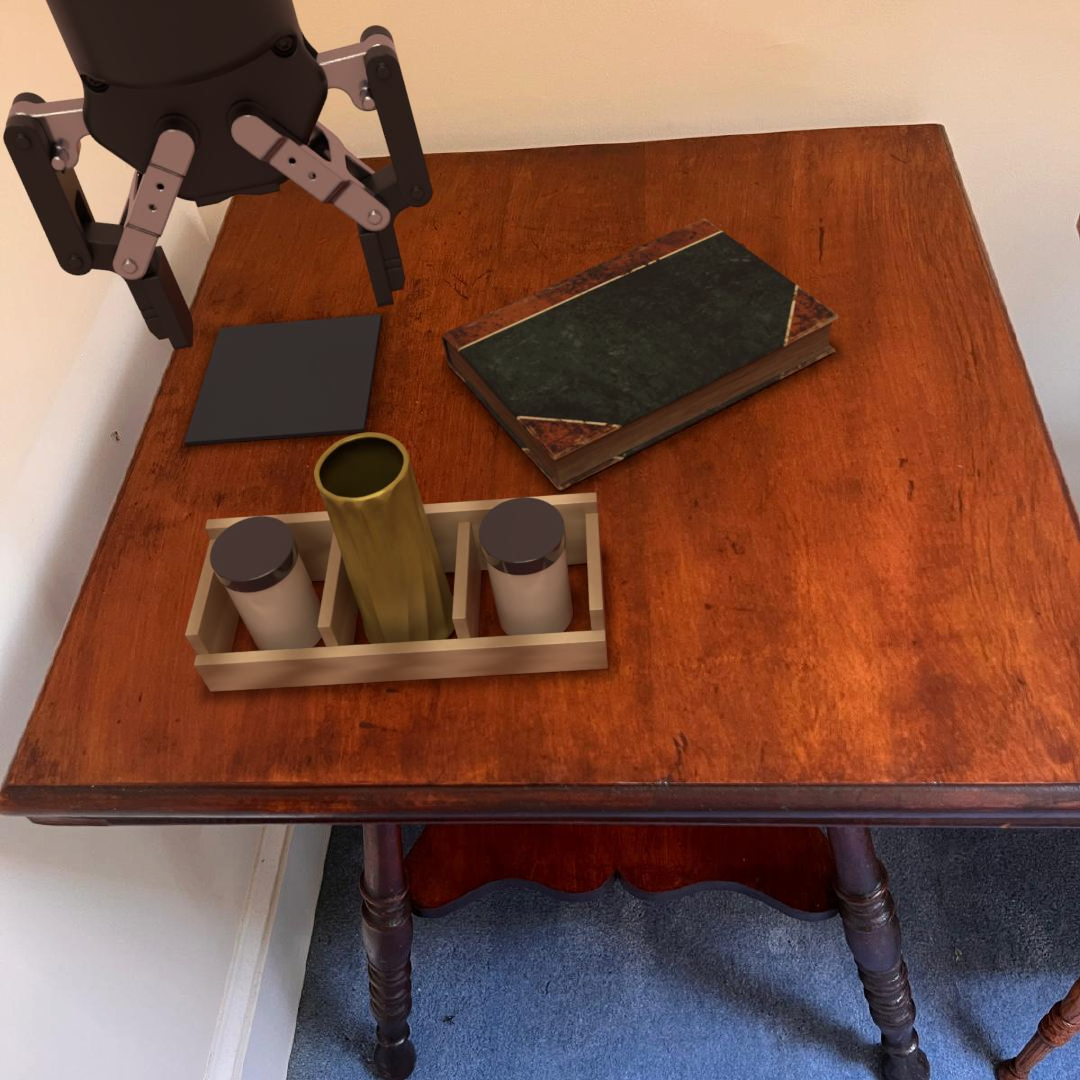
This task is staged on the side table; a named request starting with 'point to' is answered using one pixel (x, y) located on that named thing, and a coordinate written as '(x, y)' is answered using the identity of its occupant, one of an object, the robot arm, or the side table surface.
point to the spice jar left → (268, 583)
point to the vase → (385, 539)
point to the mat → (287, 380)
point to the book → (637, 349)
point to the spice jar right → (527, 566)
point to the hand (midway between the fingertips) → (284, 316)
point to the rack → (399, 660)
